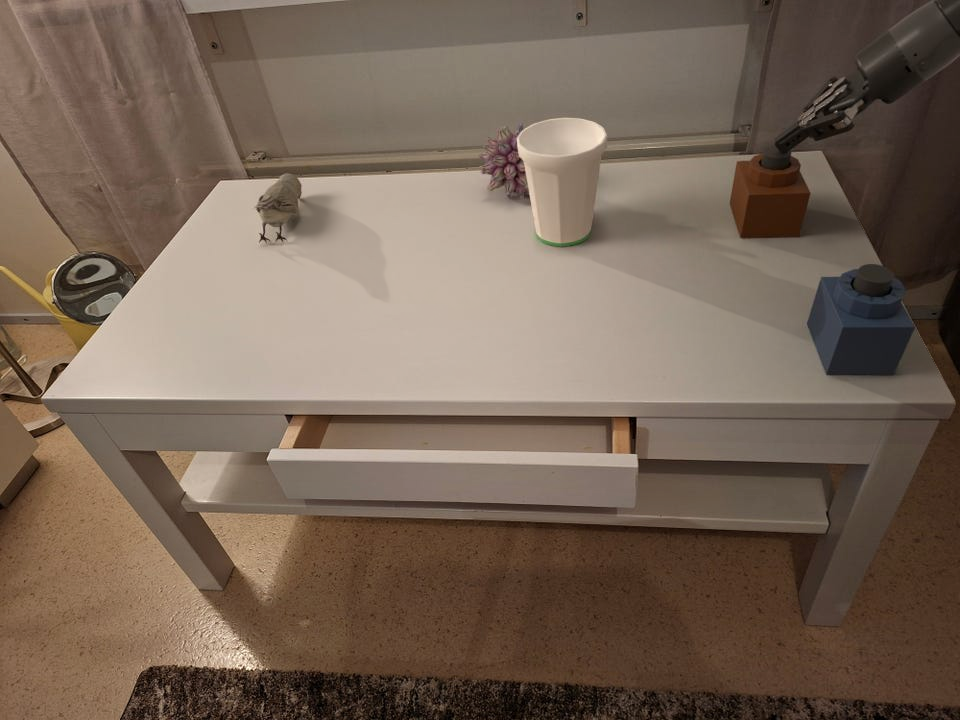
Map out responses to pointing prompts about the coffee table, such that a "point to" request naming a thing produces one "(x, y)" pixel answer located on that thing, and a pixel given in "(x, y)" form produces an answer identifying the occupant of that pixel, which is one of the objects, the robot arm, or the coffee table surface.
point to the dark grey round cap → (873, 280)
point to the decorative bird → (279, 203)
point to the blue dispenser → (859, 327)
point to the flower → (505, 162)
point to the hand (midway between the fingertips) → (778, 146)
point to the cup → (562, 176)
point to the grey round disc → (775, 159)
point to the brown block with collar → (768, 199)
